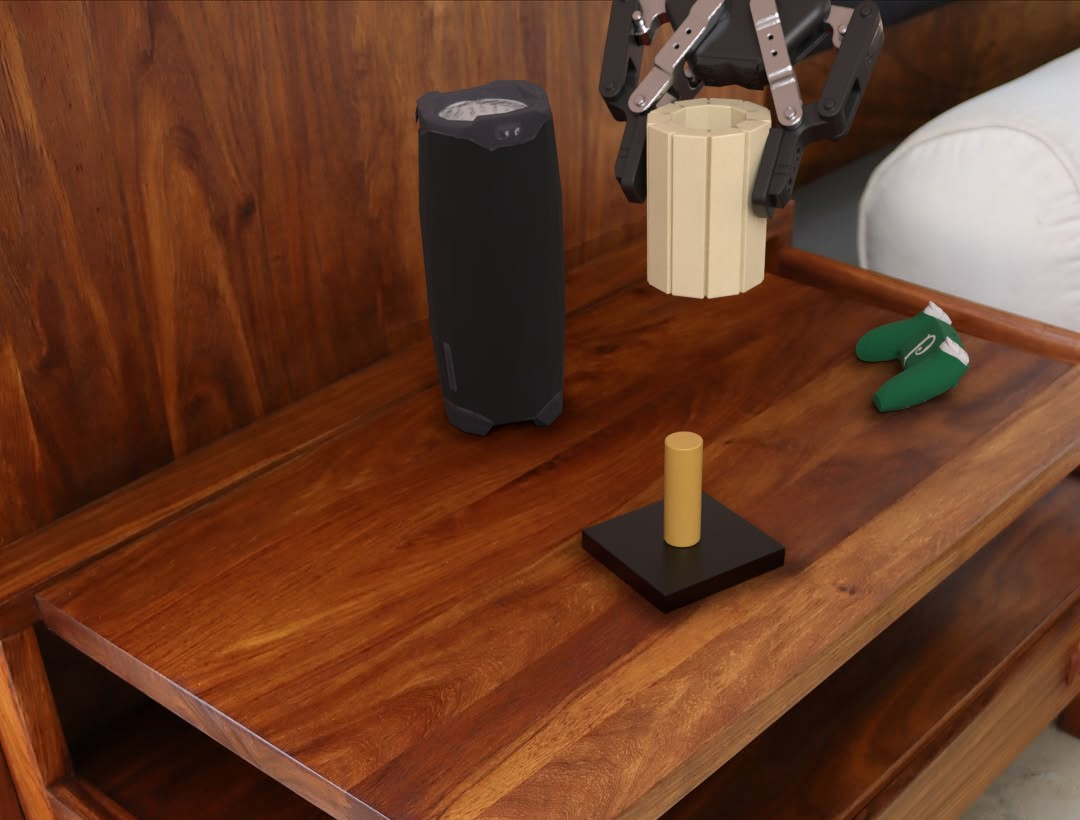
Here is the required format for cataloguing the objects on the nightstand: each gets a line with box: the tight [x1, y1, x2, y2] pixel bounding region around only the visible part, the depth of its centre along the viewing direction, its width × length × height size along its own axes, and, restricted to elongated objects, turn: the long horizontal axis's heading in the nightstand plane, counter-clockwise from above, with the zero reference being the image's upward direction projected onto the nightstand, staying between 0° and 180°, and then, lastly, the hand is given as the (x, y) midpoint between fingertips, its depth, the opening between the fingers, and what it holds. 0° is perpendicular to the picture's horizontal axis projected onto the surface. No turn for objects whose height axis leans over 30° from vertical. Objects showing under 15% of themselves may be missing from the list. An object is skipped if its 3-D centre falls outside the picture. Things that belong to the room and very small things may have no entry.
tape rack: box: [581, 431, 786, 615], centre depth 78 cm, size 8×8×7 cm
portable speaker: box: [414, 79, 566, 437], centre depth 89 cm, size 9×9×20 cm
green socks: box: [855, 300, 970, 413], centre depth 94 cm, size 9×4×6 cm
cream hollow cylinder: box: [646, 97, 772, 300], centre depth 74 cm, size 6×6×8 cm
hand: (696, 202), depth 72 cm, fingers closed on cream hollow cylinder, 6 cm apart
